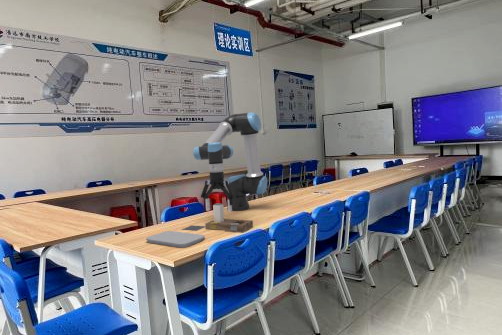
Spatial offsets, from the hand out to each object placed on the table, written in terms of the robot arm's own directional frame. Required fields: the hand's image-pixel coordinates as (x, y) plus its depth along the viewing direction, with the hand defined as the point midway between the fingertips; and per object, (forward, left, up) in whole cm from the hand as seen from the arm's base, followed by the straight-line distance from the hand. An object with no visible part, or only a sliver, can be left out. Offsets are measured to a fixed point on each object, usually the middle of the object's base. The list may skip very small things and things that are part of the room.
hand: (218, 211), depth 188 cm
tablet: (+28, -8, -10) cm, 31 cm away
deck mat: (+5, -13, -9) cm, 17 cm away
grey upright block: (0, 0, -9) cm, 9 cm away
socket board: (0, +6, -9) cm, 11 cm away
